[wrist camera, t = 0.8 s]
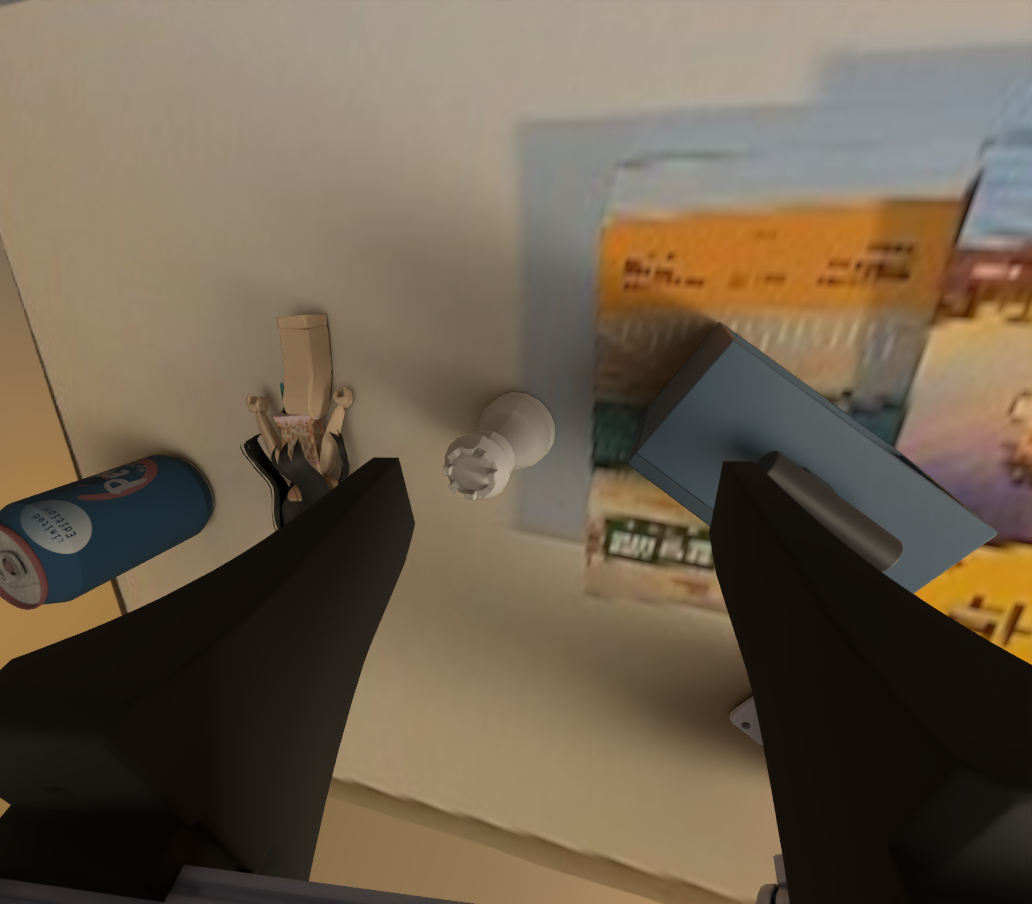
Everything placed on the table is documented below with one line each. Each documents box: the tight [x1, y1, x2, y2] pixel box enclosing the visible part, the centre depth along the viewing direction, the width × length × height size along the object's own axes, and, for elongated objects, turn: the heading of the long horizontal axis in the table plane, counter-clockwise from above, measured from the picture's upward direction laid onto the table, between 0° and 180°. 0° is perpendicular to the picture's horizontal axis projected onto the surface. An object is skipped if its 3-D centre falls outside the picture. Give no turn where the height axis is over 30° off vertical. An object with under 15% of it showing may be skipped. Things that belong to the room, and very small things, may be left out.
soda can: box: [0, 455, 214, 610], centre depth 35 cm, size 7×7×12 cm
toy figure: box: [240, 314, 353, 531], centre depth 32 cm, size 7×6×15 cm
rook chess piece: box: [443, 392, 555, 501], centre depth 26 cm, size 4×4×8 cm
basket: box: [627, 322, 998, 594], centre depth 21 cm, size 11×11×6 cm
